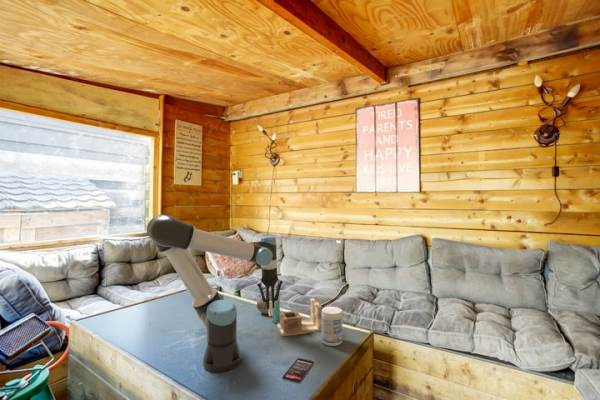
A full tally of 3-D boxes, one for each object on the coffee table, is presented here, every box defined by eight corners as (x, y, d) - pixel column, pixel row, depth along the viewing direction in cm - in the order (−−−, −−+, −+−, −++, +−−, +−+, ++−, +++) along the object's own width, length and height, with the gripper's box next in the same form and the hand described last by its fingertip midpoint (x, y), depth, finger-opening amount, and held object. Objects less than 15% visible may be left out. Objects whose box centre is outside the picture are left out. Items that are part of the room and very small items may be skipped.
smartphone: (281, 378, 112) (298, 357, 125) (281, 380, 112) (298, 359, 125) (299, 382, 109) (314, 361, 123) (299, 384, 109) (314, 363, 123)
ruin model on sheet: (205, 306, 185) (205, 290, 185) (208, 304, 188) (208, 289, 187) (220, 309, 181) (220, 293, 180) (223, 307, 183) (223, 291, 183)
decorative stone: (277, 312, 174) (277, 294, 174) (269, 317, 167) (269, 299, 167) (263, 309, 179) (262, 292, 179) (254, 314, 172) (254, 296, 171)
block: (301, 329, 149) (301, 317, 149) (283, 332, 147) (283, 319, 147) (296, 322, 158) (296, 310, 158) (279, 324, 155) (279, 312, 155)
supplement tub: (337, 349, 133) (337, 315, 133) (318, 343, 138) (317, 311, 137) (345, 339, 141) (345, 308, 141) (326, 335, 146) (326, 304, 146)
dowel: (280, 322, 160) (280, 300, 160) (273, 323, 159) (273, 301, 159) (279, 319, 164) (278, 297, 164) (271, 320, 163) (271, 298, 163)
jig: (322, 330, 150) (321, 306, 150) (282, 336, 145) (282, 311, 144) (313, 320, 163) (313, 298, 162) (277, 325, 157) (276, 302, 157)
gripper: (280, 264, 154) (281, 310, 155) (254, 267, 150) (256, 313, 151) (284, 268, 147) (285, 316, 148) (257, 270, 143) (258, 320, 144)
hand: (270, 314), depth 149 cm, fingers closed
